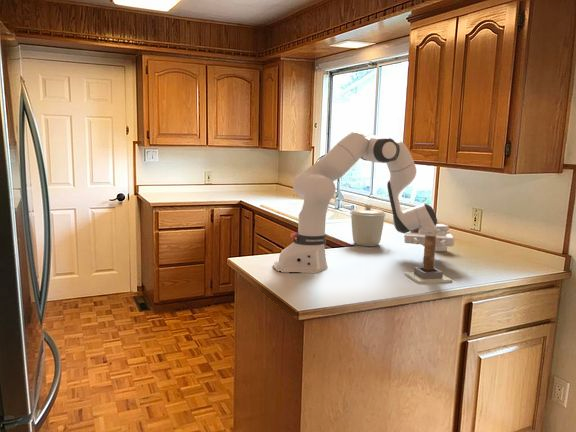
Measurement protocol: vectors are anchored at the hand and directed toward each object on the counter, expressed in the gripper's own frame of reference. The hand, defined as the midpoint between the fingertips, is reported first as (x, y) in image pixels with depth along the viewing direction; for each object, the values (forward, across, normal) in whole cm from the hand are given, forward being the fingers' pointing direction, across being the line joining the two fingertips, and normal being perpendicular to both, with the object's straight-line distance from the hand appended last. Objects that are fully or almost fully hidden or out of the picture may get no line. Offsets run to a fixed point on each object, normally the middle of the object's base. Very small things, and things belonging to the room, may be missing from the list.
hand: (429, 243), depth 199 cm
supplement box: (-42, +5, +12) cm, 44 cm away
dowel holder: (+12, 0, +12) cm, 17 cm away
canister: (-42, -30, +12) cm, 52 cm away
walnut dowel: (+12, 0, +10) cm, 16 cm away
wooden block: (-65, -4, +12) cm, 66 cm away
